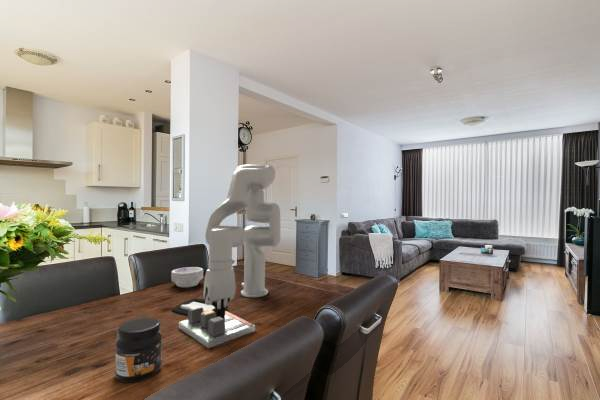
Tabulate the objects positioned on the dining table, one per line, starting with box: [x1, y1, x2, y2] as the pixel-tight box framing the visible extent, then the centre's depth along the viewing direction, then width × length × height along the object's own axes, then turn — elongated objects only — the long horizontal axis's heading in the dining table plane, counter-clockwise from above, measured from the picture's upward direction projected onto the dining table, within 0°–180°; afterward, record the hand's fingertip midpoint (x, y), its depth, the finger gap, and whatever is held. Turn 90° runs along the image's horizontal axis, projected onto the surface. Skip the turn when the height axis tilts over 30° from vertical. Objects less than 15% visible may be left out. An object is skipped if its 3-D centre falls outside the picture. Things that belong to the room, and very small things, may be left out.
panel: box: [178, 310, 256, 349], centre depth 103 cm, size 20×17×2 cm
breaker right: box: [208, 317, 225, 336], centre depth 95 cm, size 3×4×4 cm
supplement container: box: [114, 317, 163, 383], centre depth 77 cm, size 10×10×12 cm
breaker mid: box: [201, 310, 216, 328], centre depth 100 cm, size 3×4×4 cm
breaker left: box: [187, 306, 203, 323], centre depth 105 cm, size 3×4×4 cm
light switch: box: [170, 297, 229, 317], centre depth 121 cm, size 20×3×14 cm
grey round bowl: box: [171, 266, 204, 288], centre depth 155 cm, size 15×15×8 cm
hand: (220, 318), depth 103 cm, fingers closed
